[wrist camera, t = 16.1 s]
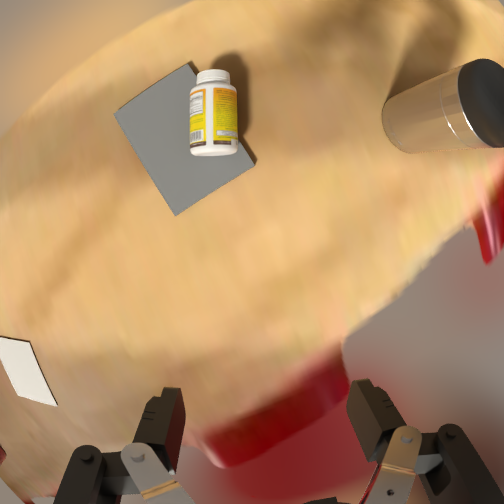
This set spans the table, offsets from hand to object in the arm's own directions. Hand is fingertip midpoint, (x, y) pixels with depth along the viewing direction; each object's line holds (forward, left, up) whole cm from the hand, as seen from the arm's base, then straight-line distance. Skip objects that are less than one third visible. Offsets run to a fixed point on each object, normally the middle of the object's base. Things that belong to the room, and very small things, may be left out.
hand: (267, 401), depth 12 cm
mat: (-1, -18, -28) cm, 33 cm away
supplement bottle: (-3, -13, -24) cm, 27 cm away
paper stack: (+58, -10, -28) cm, 65 cm away
